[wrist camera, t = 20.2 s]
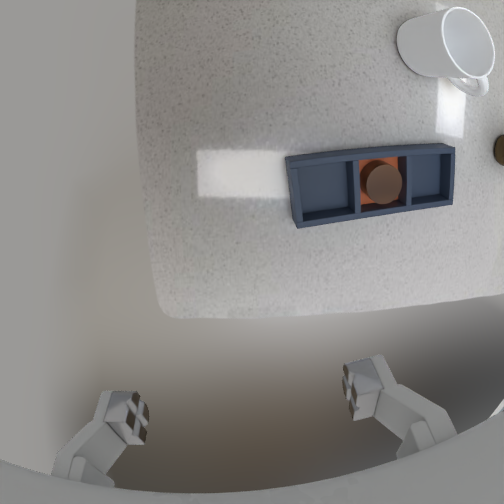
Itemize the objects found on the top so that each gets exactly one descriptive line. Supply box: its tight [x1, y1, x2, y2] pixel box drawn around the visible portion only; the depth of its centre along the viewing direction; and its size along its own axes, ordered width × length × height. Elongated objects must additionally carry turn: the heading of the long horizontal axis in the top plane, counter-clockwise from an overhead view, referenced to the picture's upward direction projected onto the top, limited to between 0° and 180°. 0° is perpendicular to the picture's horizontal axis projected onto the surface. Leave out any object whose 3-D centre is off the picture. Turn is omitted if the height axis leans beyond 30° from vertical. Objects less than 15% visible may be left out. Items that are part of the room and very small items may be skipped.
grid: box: [285, 143, 455, 229], centre depth 36 cm, size 8×23×3 cm, turn 99°
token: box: [360, 160, 402, 204], centre depth 36 cm, size 5×5×2 cm
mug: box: [397, 7, 495, 96], centre depth 25 cm, size 12×8×10 cm
